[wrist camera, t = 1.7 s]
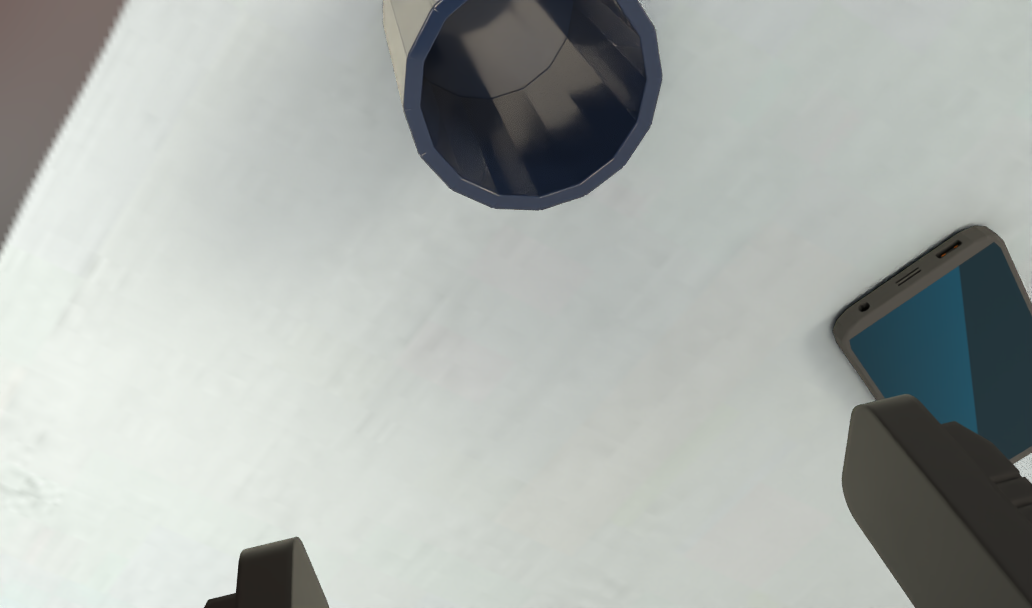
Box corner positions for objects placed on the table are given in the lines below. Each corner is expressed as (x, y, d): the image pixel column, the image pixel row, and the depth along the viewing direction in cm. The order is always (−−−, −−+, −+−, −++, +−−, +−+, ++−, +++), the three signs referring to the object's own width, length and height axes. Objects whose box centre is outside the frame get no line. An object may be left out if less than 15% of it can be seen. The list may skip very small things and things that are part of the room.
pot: (388, -116, 23) (415, -62, 17) (595, -89, 24) (689, -30, 18) (376, 95, 26) (395, 205, 20) (560, 108, 28) (630, 214, 21)
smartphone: (984, 213, 33) (1000, 224, 33) (1073, 409, 42) (1087, 421, 41) (822, 324, 35) (833, 337, 34) (938, 491, 43) (949, 505, 43)
